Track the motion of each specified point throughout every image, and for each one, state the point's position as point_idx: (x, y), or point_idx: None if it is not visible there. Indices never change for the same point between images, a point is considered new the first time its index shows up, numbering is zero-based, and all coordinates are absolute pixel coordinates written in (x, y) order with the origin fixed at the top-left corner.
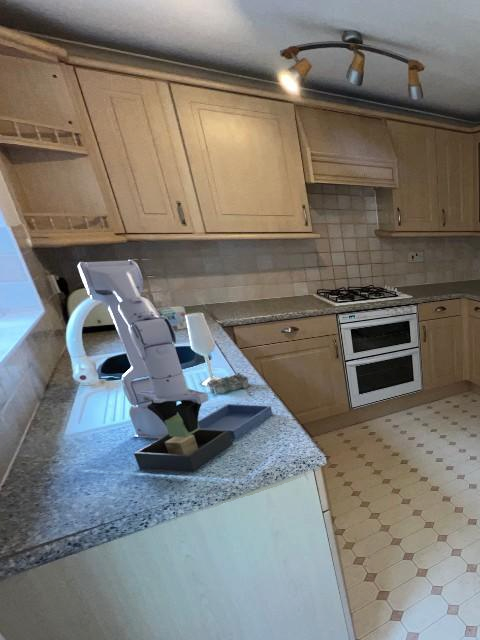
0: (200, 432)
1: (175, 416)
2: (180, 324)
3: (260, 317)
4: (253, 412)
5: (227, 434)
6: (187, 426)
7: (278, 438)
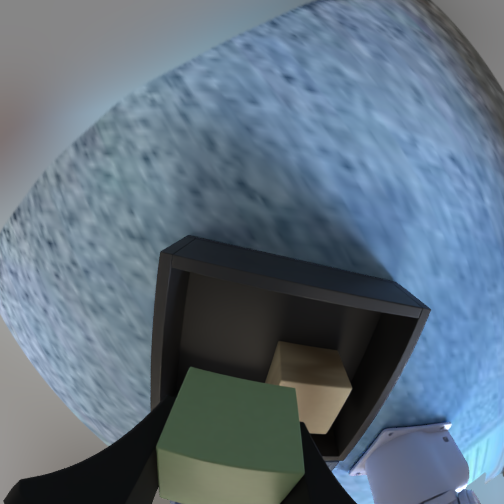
0: None
1: (263, 501)
2: None
3: None
4: None
5: None
6: (152, 417)
7: (83, 393)
